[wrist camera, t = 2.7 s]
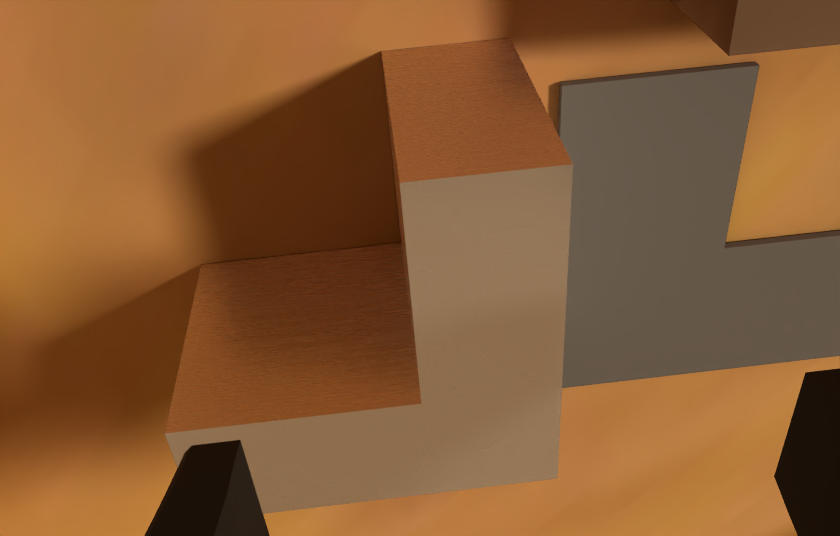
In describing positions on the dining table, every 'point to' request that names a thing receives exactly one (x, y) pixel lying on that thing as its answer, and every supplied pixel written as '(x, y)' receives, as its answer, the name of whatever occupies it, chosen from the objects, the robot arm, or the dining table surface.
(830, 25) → the corner jig
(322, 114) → the dining table surface
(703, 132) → the L-shaped mat
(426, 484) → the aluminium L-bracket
